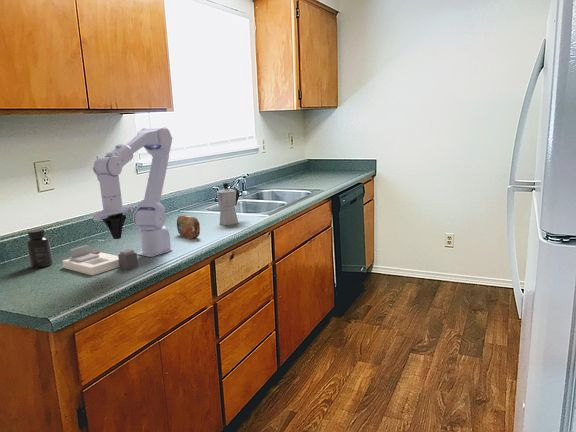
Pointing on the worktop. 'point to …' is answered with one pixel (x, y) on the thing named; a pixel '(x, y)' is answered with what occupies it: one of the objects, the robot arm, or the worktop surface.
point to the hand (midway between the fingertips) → (117, 238)
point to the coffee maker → (228, 205)
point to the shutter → (82, 254)
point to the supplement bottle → (39, 249)
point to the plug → (127, 259)
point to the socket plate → (93, 264)
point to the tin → (188, 226)
